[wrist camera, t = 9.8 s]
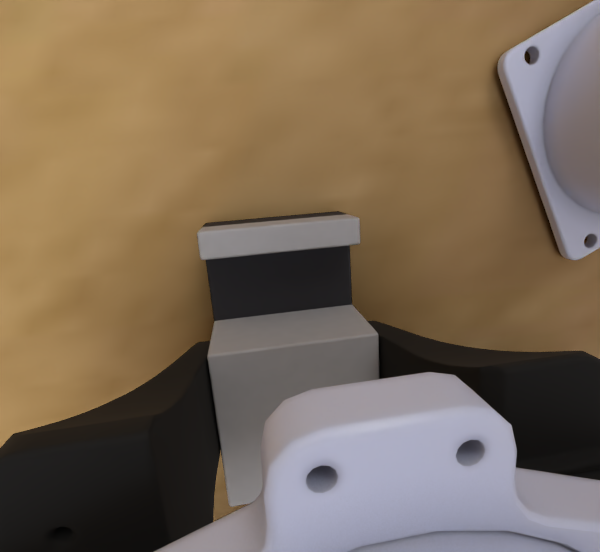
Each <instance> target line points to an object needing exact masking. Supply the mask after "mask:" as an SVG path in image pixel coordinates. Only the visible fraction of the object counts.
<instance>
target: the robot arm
mask: <svg viewBox="0 0 600 552" xmlns="http://www.w3.org/2000/svg"><path fill="white" fill-rule="evenodd" d="M526 51H527V52H528V53H529V54H530V62H529V64H528V63H527V62H526V61H525V57H524V54H525V52H526ZM497 69H498V75H499V78H500V81H501V83H502V86H503V89H504V92H505V95H506V98H507V101H508V104H509V107H510V109H511V112H512V115H513V118H514V121H515V124H516V127H517V130H518V133H519V136H520V138H521V141H522V144H523V147H524V150H525V153H526V156H527V159H528V162H529V164H530V167H531V170H532V173H533V176H534V179H535V182H536V185H537V188H538V190H539V193H540V196H541V199H542V202H543V205H544V208H545V211H546V214H547V217H548V219H549V222H550V225H551V228H552V231H553V234H554V237H555V240H556V243H557V245H558V248H559V251H560V253H561V255H562V256H563V257H564V258H566V259H570V260H579V259H581V258H583V257H585V256H587V255H588V254H590V253H592V252H593V251H595V250H597V249H598V248H600V0H593V1H592V2H590V3H588V4H587V5H585V6H583V7H581V8H580V9H578V10H576V11H575V12H573V13H571V14H569V15H568V16H566V17H564V18H563V19H561V20H559V21H557V22H556V23H554V24H552V25H551V26H549V27H547V28H545V29H544V30H542V31H540V32H539V33H537V34H535V35H533V36H532V37H530V38H528V39H527V40H525V41H523V42H521V43H520V44H518V45H516V46H515V47H513V48H511V49H509V50H508V51H506V52H505V53H504V54H503V55H502V56H501V57H500V59H499V61H498V66H497ZM586 236H587V241H586V243H585V244H584V240H585V237H586ZM367 322H368V323H369V324H370V325H371V326H372V327H373V328H374V329H375V331H376V332H377V333H378V335H379V378H380V379H377V380H370V381H364V382H357V383H350V384H343V385H336V386H329V387H323V388H316V389H311V390H308V391H306V392H303V393H300V394H298V395H295V396H293V397H290V398H288V399H285V400H284V401H283V402H282V403H281V404H280V405H279V406H278V407H277V408H276V410H275V411H274V412H273V413H272V414H271V415H270V416H269V418H268V419H267V420H266V421H265V425H264V430H263V435H262V441H261V446H260V449H261V464H262V479H263V487H262V490H261V493H260V495H259V496H258V497H257V498H256V499H255V501H254V502H252V503H250V504H248V505H246V506H244V507H242V508H240V509H238V510H236V511H234V512H232V513H230V514H228V515H226V516H224V517H222V518H220V519H218V520H216V521H214V522H213V508H214V491H215V482H216V475H217V468H218V462H219V456H220V449H221V448H220V441H219V434H218V428H217V421H216V414H215V407H214V401H213V394H212V387H211V380H210V374H209V367H208V360H207V355H208V350H209V345H210V341H205V342H198V343H197V344H195V345H194V346H193V347H191V348H190V349H189V350H188V351H187V352H186V353H184V354H183V355H182V356H181V357H180V358H179V359H177V360H176V361H175V362H174V363H173V364H171V365H170V366H169V367H167V368H166V369H165V370H163V371H162V372H161V373H159V374H158V375H157V376H155V377H154V378H152V379H151V380H149V381H148V382H146V383H145V384H143V385H141V386H140V387H138V388H136V389H135V390H133V391H131V392H129V393H127V394H126V395H123V396H121V397H119V398H117V399H115V400H113V401H111V402H109V403H107V404H104V405H102V406H100V407H98V408H95V409H93V410H90V411H88V412H85V413H82V414H80V415H77V416H74V417H71V418H68V419H65V420H62V421H59V422H56V423H52V424H49V425H45V426H41V427H38V428H34V429H30V430H27V431H23V432H19V433H15V434H13V435H12V436H11V437H10V438H9V439H8V440H7V441H6V442H5V444H4V445H3V446H2V447H1V448H0V552H600V359H598V358H596V357H594V356H592V355H590V354H588V353H586V352H584V351H560V352H511V351H496V350H487V349H478V348H471V347H464V346H459V345H454V344H449V343H445V342H440V341H436V340H433V339H429V338H426V337H422V336H419V335H416V334H413V333H410V332H407V331H404V330H401V329H398V328H395V327H392V326H389V325H386V324H383V323H380V322H376V321H367Z"/></svg>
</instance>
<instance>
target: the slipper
mask: <svg viewBox="0 0 600 552" xmlns="http://www.w3.org/2000/svg"><path fill="white" fill-rule="evenodd" d="M197 239H198V246H199V253H200V258H201V260H206V266H207V273H208V280H209V287H210V294H211V302H212V309H213V316H214V326H213V331H212V335H211V340H210V345H209V350H208V355H207V360H208V367H209V374H210V380H211V387H212V394H213V401H214V407H215V414H216V421H217V428H218V434H219V441H220V448H221V455H222V461H223V468H224V475H225V482H226V489H227V495H228V502H229V505H230V506H231V507H232V506H238V505H243V504H249V503H252V502H254V501H255V499H256V498H257V497H258V496H259V495H260V493H261V490H262V487H263V479H262V464H261V449H260V446H261V441H262V435H263V430H264V425H265V421H266V420H267V419H268V418H269V416H270V415H271V414H272V413H273V412H274V411H275V410H276V408H277V407H278V406H279V405H280V404H281V403H282V402H283V401H284V400H285V399H288V398H290V397H293V396H295V395H298V394H300V393H303V392H306V391H308V390H311V389H316V388H323V387H329V386H336V385H343V384H350V383H357V382H364V381H370V380H377V379H380V378H379V335H378V333H377V332H376V331H375V329H374V328H373V327H372V326H371V325H370V324H369V323H368V322H367V321H366V319H365V318H364V317H363V316H362V315H361V314H360V313H359V312H358V311H357V309H356V308H355V307H354V306H353V305H352V292H351V268H350V245H358V244H360V219H359V218H358V217H355V216H352V215H348V214H345V213H342V212H338V211H337V212H325V213H314V214H303V215H291V216H280V217H269V218H257V219H246V220H235V221H224V222H212V223H206V224H205V225H204V226H203V227H202V228H201V229H200V230H199V231H198V232H197Z"/></svg>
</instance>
